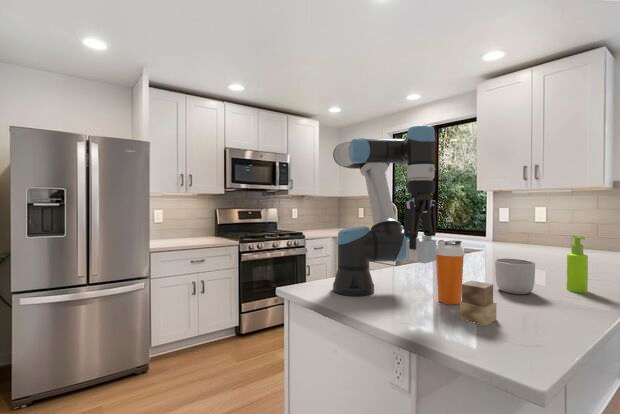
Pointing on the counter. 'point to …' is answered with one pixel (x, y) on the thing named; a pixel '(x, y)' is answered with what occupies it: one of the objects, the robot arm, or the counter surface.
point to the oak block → (478, 313)
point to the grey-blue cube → (424, 251)
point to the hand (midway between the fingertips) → (420, 258)
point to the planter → (515, 275)
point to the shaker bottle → (449, 271)
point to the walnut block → (477, 293)
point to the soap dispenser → (577, 268)
